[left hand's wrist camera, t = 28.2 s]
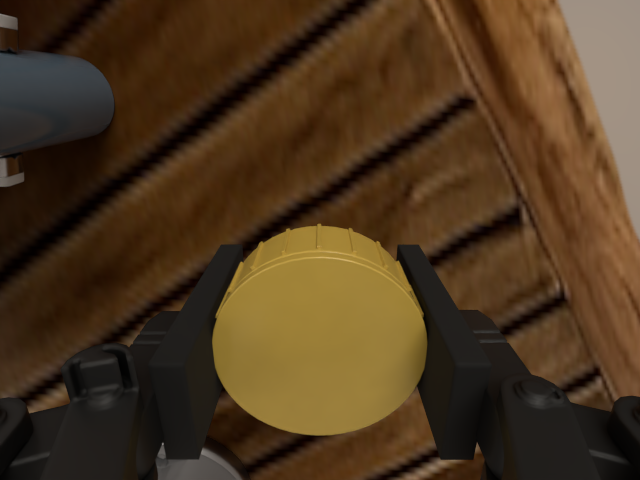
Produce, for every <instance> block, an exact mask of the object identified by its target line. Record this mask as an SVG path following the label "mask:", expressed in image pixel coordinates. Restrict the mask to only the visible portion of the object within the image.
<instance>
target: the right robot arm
mask: <svg viewBox="0 0 640 480" xmlns="http://www.w3.org/2000/svg"><path fill="white" fill-rule="evenodd" d="M0 50H2V51H12V52H19V45H18V20H17V18H15V17H11V16H7V15H3V14H0ZM21 182H24V167H23V153H22V152H20V153H16V154H11V155H7V156H2V157H0V187H8V186H12V185H15V184H18V183H21Z"/></svg>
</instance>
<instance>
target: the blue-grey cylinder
mask: <svg viewBox="0 0 640 480" xmlns="http://www.w3.org/2000/svg"><path fill="white" fill-rule="evenodd" d="M113 113H114V97H113V93H112V90H111V88H110V85H109V83H108V82H107V80H106V78H105V77H104V76H103V74H102V73H101V72H100V71H99V70H98V69H97V68H96V67H95V66H93V65H92V64H91V63H89V62H87V61H86V60H84V59H81V58H79V57H75V56H69V55H61V54H53V53H45V52H37V51H29V50H21V49H19V52H12V51H2V50H0V157H2V156H7V155H11V154H16V153H20V152H25V151H29V150H34V149H38V148H43V147H47V146H52V145H56V144H61V143H65V142H70V141H74V140H79V139H83V138H88V137H92V136H95V135H97V134H99V133H101V132H102V131H104V130H105V129H106V128H107V126H108V125H109V124H110V122H111V120H112V117H113Z"/></svg>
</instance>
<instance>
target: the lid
mask: <svg viewBox="0 0 640 480" xmlns="http://www.w3.org/2000/svg"><path fill="white" fill-rule="evenodd" d="M422 317H424V314H423V311H422V309H421V307H420V305H419V302H418V300H417V298H416V296H415V294H414V291H413V289H412V287H411V285H409V282H408V280H407V278H406V276H405V273H404V271H403V269H402V267H401V264H400V262H399V261H397V262H396V261H395V260H394V259H393V258H392V257H391V255H390V254H389V253H388V252H387V251H385V250H384V249H383V248H382V247H381V245H380V243H379V242H378V241H376V243H375V242H374V241H372V240H371V239H369V238H367V237H365V236H363V235H361V234H359V233H356V232H353V230H352V229H350V228H349V229H348V230H347V229H342V228H337V227H328V226H321V224H317V226H309V227H303V228H297V229H294V230H290V228H289V229H286V232H284V233H282V234H279V235H277V236H275V237H273V238H271V239H269V240H268V241H266V242H264V243H263V242H260V243H259V245H258V248H257V249H255V250H254V251H253V252H252V253H251V254H250V255H249V256H248V257H247V259H246V260H245V261H244V263H243V262H240V264H239V266H238V268H237V270H236V272H235V275H234V277H233V279H232V281H231V283H230V286H229V287H228V289H227V291H226V294H225V296H224V298H223V300H222V302H221V305H220V307H219V309H218V311H217V313H216V316H215V318H217V319H216V323H215V326H214V329H213V336H212V345H213V354H214V362H215V368H216V371H217V374H218V377H219V379H220V381H221V383H222V385H223V386H224V388H225V389H226V391H227V392H228V394H229V395H230V396H231V397H232V398H233V399H234V401H235V402H236V403H237V404H238V405H239V406H240V407H242V408H243V409H244V410H245V411H246V412H248V413H249V414H251V415H252V416H254V417H255V418H257V419H258V420H260V421H262V422H264V423H266V424H268V425H271V426H273V427H276V428H278V429H281V430H285V431H289V432H292V433H298V434H304V435H335V434H342V433H347V432H351V431H356V430H358V429H361V428H364V427H367V426H369V425H372V424H374V423H376V422H378V421H380V420H381V419H383V418H385V417H386V416H388V415H390V414H391V413H392V412H393V411H395V410H396V409H397V408H398V407H400V406H401V405H402V404H403V403H404V402H405V401H406V400H407V398H408V397H409V396H410V395H411V393H412V392H413V391H414V389H415V388H416V386H417V384H418V382H419V381H420V379H421V376H422V374H423V371H424V368H425V361H426V353H427V343H428V339H427V331H426V327H425V324H424V320H423V318H422Z"/></svg>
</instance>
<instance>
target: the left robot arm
mask: <svg viewBox="0 0 640 480" xmlns="http://www.w3.org/2000/svg"><path fill="white" fill-rule="evenodd" d="M397 261H399V262H400V264H401V267H402V269H403V271H404V273H405V276H406V278H407V280H408V282H409V285H411V287H412V289H413V291H414V294H415V296H416V298H417V300H418V302H419V305H420V307H421V309H422V311H423V314H424V317H422V318H423V320H424V324H425V327H426V331H427V339H428V343H427V353H426V361H425V368H424V371H423V374H422V376H421V379H420V381H419V382H418V384H417V387H418V390H419V393H420V396H421V399H422V403H423V406H424V409H425V412H426V415H427V418H428V421H429V424H430V427H431V431H432V434H433V437H434V440H435V443H436V446H437V449H438V452H439V455H440V459H441V460H473V458H474V453H475V448H476V443H477V442H478V445H479V447H480V449H481V451H482V454H483V456H484V458H485V460H484V465H483V470H482V474H481V479H480V480H640V397H637V396H626V397H620V398H619V399H618V400H616V401H615V402H614V405H613V408H612V411H611V412H609V411H605V410H600V409H596V408H591V407H587V406H582V405H578V404H575V403H572V402H570V401H569V399H568V398H567V396H566V395H565V393H564V392H563V391H562V390H561V389H560V388H558V387H557V386H556V385H555V384H553V383H551V382H549V381H547V380H545V379H543V378H542V377H538V376H535V375H531V373H530V372H529V370H528V369H527V368H526V366H525V365H524V364H523V362H522V361H521V359H520V358H519V357H518V355H517V354H516V353H515V351H514V350H513V348H512V347H511V346H510V344H509V343H507V340H506V339H505V337H504V336H503V335H502V333H500V331H499V329H498V328H497V326H496V325H495V324H494V322H493V321H492V320H491V319H490V318H488V317H487V316H485V315H484V314H483V313H481V312H480V311H478V310H458V308H457V307H456V305H455V303H454V302H453V300H452V298H451V297H450V295H449V294H448V292H447V290H446V289H445V287H444V285H443V284H442V282H441V281H440V279H439V277H438V276H437V274H436V272H435V271H434V269H433V267H432V266H431V264H430V263H429V261H428V259H427V258H426V256H425V254H424V253H423V251H422V250H421V248H420V246H419V245H398V247H397V260H396V262H397ZM240 262H243V250H242V245H221V246H220V248H219V249H218V251H217V252H216V254H215V256H214V257H213V259H212V261H211V262H210V264H209V265H208V267H207V269H206V270H205V272H204V274H203V275H202V277H201V278H200V280H199V282H198V283H197V285H196V287H195V288H194V290H193V292H192V293H191V295H190V296H189V298H188V300H187V301H186V303H185V305H184V306H183V308H182V309H181V311H162V312H161V313H159V314H158V315H156V316H155V317H153V318H152V319H151V320H149V321H148V322H147V324H146V325H145V326H144V328H143V329H142V331H141V332H140V335H138V336H137V337H136V339H135V340H134V342H133V344H131V346H130V347H128V346H127V345H123V344H119V343H107V344H101V345H97V346H93V347H90V348H88V349H85V350H83V351H81V352H79V353H77V354H76V355H74V356H73V357H71V358H70V359H69V360H67V361H66V363H65V364H64V365H63V367H62V368H61V372H62V375H63V379H64V382H65V385H66V389H67V392H68V395H69V398H70V404H67V405H64V406H60V407H56V408H52V409H47V410H43V411H38V412H34V413H30V414H29V412H28V409H27V406H26V404H25V403H24V402H23V401H22V400H20V399H17V398H9V397H8V398H2V399H0V480H250V477H249V475H248V472H247V470H246V469H245V467H244V466H243V464H242V463H241V461H240V460H239V459H238V458H237V457H236V456H235V455H234V454H233V453H232V452H231V451H230V450H228V449H227V448H226V447H224V446H223V445H221V444H220V443H218V442H216V441H214V440H212V439H210V438H208V437H206V436H207V433H208V430H209V427H210V424H211V421H212V417H213V414H214V411H215V408H216V405H217V402H218V399H219V396H220V393H221V389H222V386H223V385H222V383H221V381H220V379H219V377H218V374H217V371H216V368H215V362H214V354H213V345H212V336H213V329H214V326H215V323H216V319H217V318H215V316H216V313H217V311H218V309H219V307H220V305H221V302H222V300H223V298H224V296H225V294H226V291H227V289H228V287H229V286H230V283H231V281H232V279H233V277H234V275H235V272H236V270H237V268H238V266H239V264H240Z"/></svg>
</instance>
